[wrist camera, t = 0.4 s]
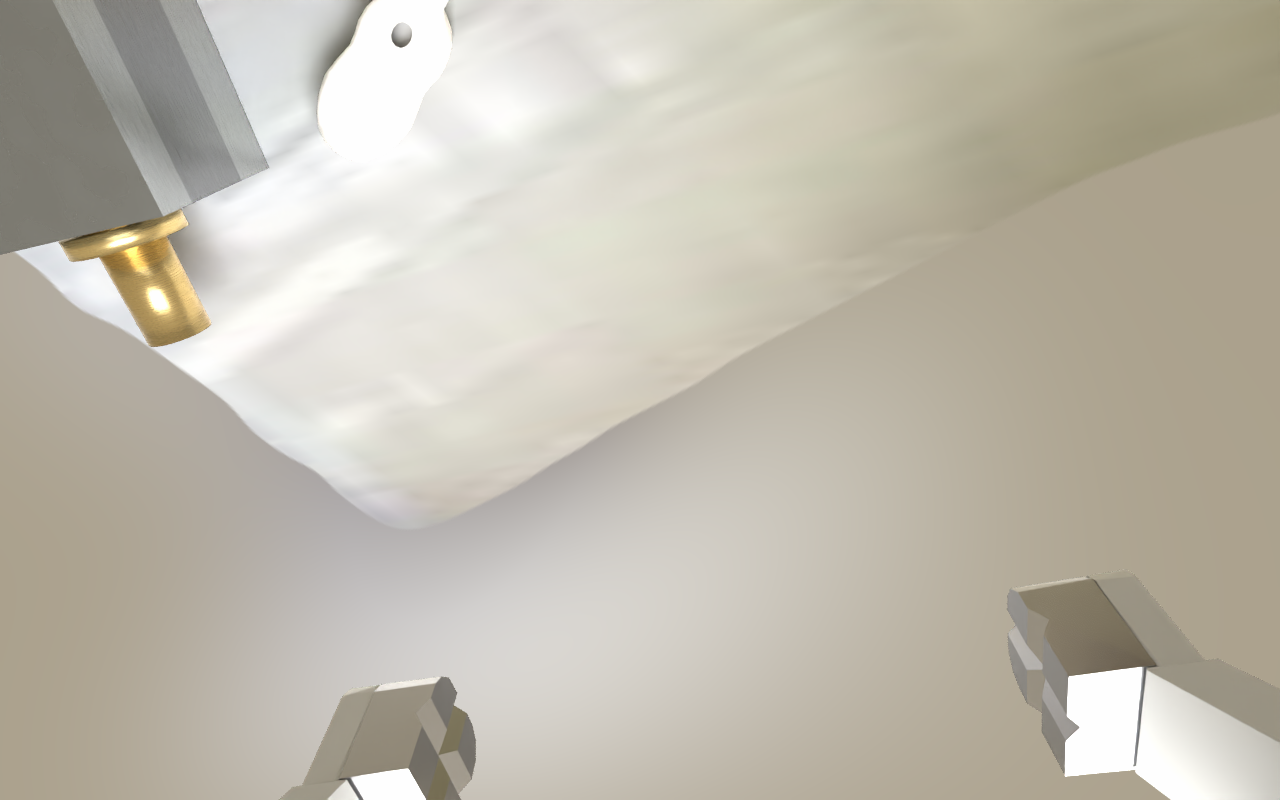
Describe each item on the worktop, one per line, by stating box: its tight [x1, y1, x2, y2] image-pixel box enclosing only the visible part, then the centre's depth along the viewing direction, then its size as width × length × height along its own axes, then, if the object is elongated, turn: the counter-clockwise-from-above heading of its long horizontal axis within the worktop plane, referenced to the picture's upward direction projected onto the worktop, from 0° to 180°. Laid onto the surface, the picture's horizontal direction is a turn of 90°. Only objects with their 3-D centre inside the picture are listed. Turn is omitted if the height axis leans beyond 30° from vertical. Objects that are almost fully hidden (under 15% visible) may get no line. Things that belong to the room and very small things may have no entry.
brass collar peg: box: [59, 209, 211, 347], centre depth 49 cm, size 15×7×7 cm, turn 13°
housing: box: [0, 0, 269, 255], centre depth 46 cm, size 12×14×13 cm
